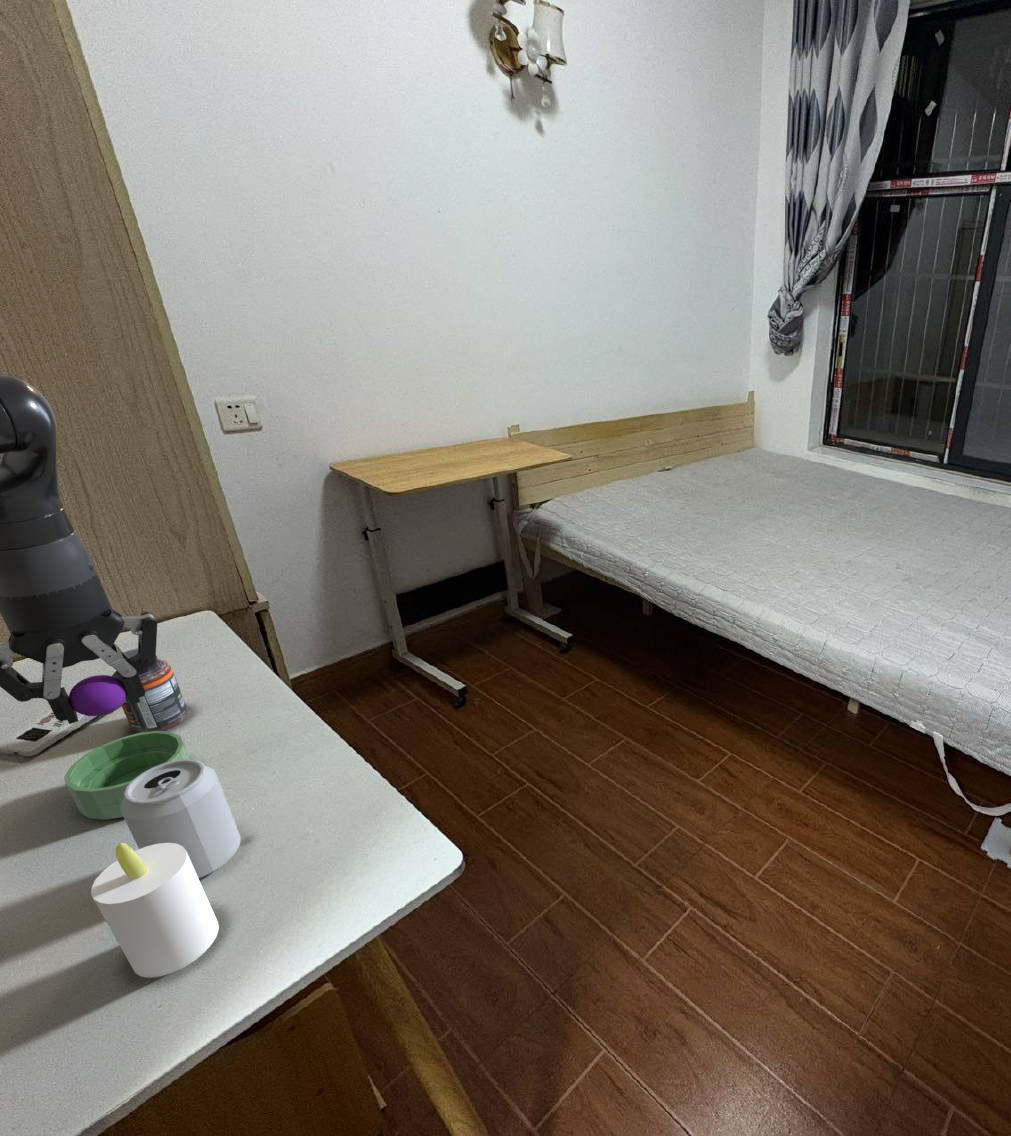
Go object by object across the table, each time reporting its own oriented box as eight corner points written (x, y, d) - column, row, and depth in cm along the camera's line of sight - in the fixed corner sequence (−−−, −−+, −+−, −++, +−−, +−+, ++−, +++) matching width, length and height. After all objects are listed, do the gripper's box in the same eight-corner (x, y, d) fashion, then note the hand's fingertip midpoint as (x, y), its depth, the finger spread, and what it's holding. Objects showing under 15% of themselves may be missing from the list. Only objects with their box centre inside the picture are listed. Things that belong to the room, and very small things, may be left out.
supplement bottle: (126, 723, 86) (96, 655, 81) (181, 703, 90) (155, 638, 85) (140, 742, 83) (109, 673, 78) (196, 721, 87) (170, 654, 82)
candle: (222, 903, 64) (176, 796, 58) (216, 957, 59) (165, 847, 53) (139, 933, 61) (81, 823, 54) (126, 992, 56) (61, 880, 49)
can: (224, 822, 73) (193, 743, 68) (256, 852, 70) (225, 772, 64) (141, 867, 67) (101, 784, 62) (172, 903, 64) (131, 819, 58)
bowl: (55, 826, 70) (37, 793, 68) (125, 761, 80) (111, 731, 78) (157, 821, 72) (142, 789, 70) (214, 759, 81) (203, 729, 79)
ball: (65, 725, 68) (48, 691, 66) (99, 699, 72) (84, 667, 71) (113, 724, 69) (98, 690, 67) (143, 698, 73) (130, 666, 71)
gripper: (132, 548, 71) (180, 671, 78) (-66, 584, 61) (10, 721, 68) (143, 570, 66) (192, 699, 73) (-69, 613, 56) (12, 756, 64)
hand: (104, 709), depth 71 cm, fingers closed on ball, 4 cm apart
